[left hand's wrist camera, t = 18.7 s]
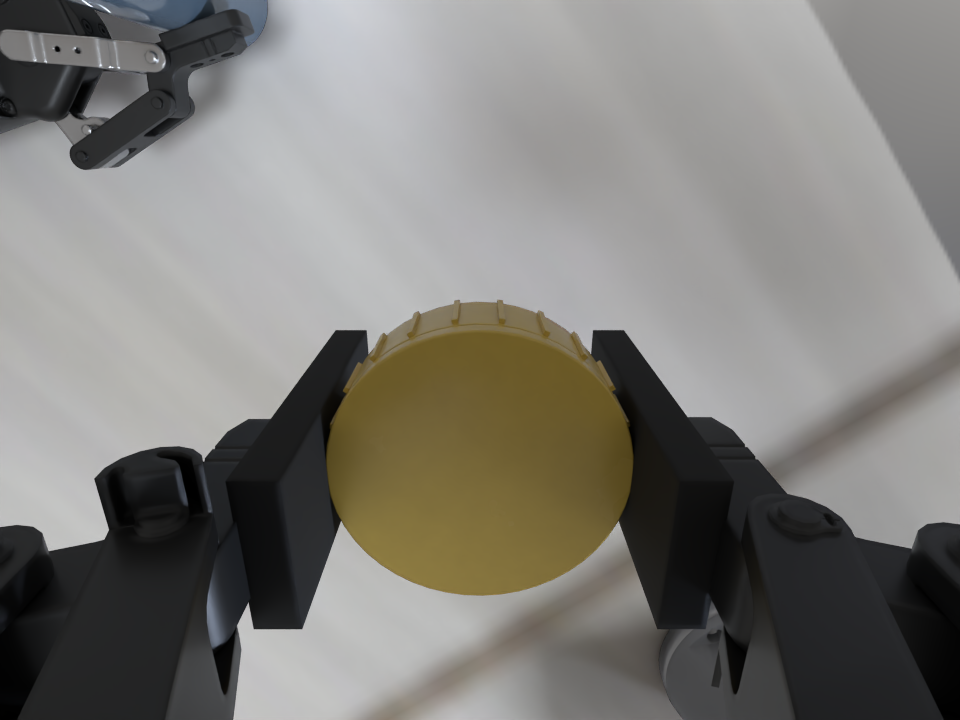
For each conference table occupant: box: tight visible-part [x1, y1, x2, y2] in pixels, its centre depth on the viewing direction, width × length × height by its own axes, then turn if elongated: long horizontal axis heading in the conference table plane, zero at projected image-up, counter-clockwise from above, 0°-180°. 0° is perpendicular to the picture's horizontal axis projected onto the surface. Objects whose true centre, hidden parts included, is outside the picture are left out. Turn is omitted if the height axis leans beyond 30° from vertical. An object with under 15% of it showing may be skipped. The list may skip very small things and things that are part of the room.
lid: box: [326, 300, 634, 596], centre depth 11 cm, size 6×6×2 cm
